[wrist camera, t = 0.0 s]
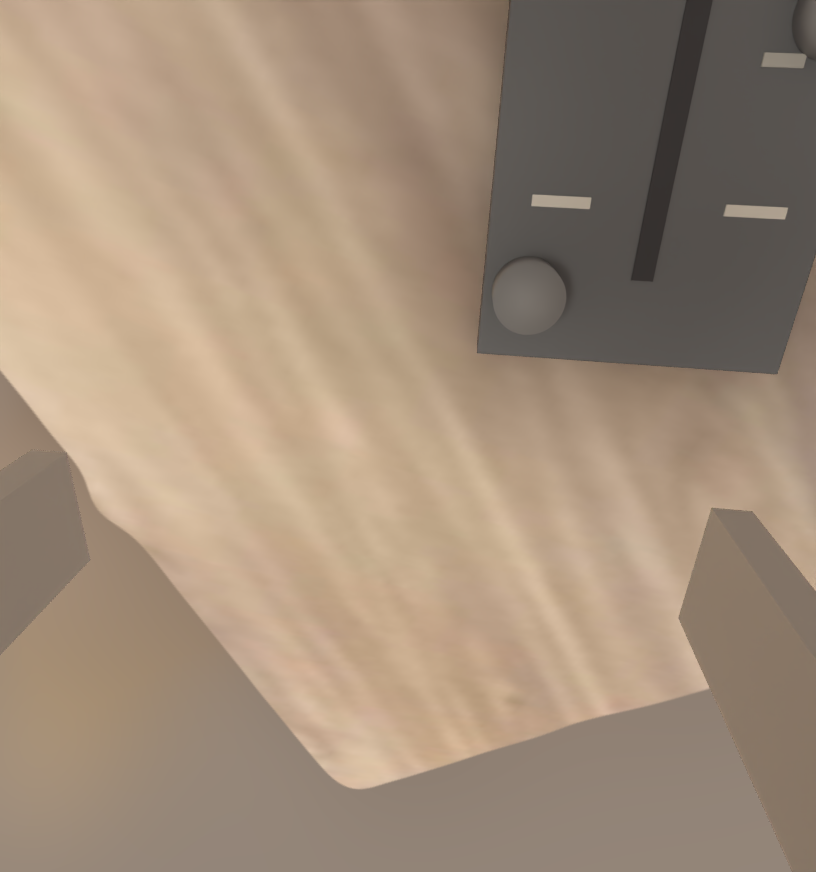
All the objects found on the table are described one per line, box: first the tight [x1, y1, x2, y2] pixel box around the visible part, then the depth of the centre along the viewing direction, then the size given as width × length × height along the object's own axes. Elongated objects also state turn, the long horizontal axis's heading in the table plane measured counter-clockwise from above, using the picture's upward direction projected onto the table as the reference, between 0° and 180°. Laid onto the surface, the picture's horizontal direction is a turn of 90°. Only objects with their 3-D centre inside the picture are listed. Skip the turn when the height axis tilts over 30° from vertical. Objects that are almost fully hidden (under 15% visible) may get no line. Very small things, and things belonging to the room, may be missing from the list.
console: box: [477, 0, 816, 374], centre depth 30 cm, size 30×18×4 cm, turn 177°
